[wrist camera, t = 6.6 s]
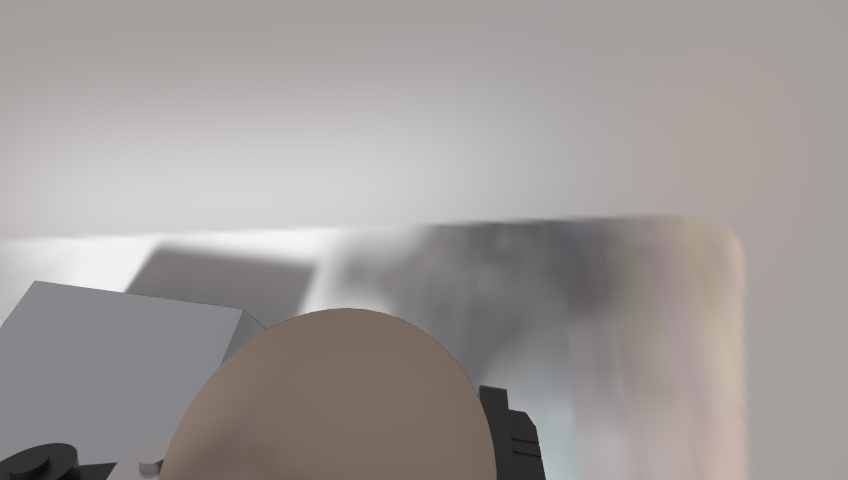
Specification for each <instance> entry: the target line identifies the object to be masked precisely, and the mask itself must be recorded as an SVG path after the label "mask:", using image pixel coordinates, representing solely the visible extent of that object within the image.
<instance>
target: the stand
mask: <svg viewBox="0 0 848 480" xmlns="http://www.w3.org/2000/svg"><path fill="white" fill-rule="evenodd" d="M264 331H266V329H265V328H264V327H263V326H262V325H261V324H259V323H258V322H257V321H256V320H255V319H254V318H253V317H252V316H250V315H249V314H248V313H247V312H246V311H245V310H244V309H238V308H230V307H223V306H216V305H208V304H201V303H194V302H187V301H179V300H172V299H165V298H157V297H150V296H143V295H136V294H128V293H121V292H114V291H106V290H99V289H92V288H84V287H77V286H70V285H63V284H55V283H48V282H41V281H34V282H33V284H32V285H31V287H30V288H29V289H28V291H27V292H26V293H25V295H24V296H23V298H22V299H21V300H20V302H19V303H18V304H17V306H16V307H15V309H14V310H13V311H12V313H11V314H10V315H9V317H8V318H7V320H6V321H5V322H4V324H3V325H2V326H1V328H0V462H1V461H2V460H4V459H6V458H8V457H10V456H12V455H14V454H16V453H19V452H21V451H23V450H26V449H29V448H32V447H35V446H39V445H44V444H49V443H66V444H69V445H72V446H73V447H75V448H76V450H77V454H78V461H79V465H90V464H103V463H115V462H118V461H119V460H120V459H121V458H122V457H123V456H124V455H125V454H126V453H127V452H129V451H130V450H132V449H133V448H135V447H136V446H138V445H140V444H142V443H144V442H147V441H149V440H152V439H156V438H160V437H166V436H173V435H174V433H175V431H176V429H177V427H178V425H179V423H180V421H181V419H182V417H183V415H184V413H185V412H186V410H187V409H188V407H189V406H190V404H191V402H192V401H193V399H194V398H195V396H196V395H197V393H198V392H199V391H200V389H201V388H202V387H203V385H204V384H205V383H206V382H207V380H208V379H209V378H210V376H211V375H212V374H213V373H214V372H215V371H216V370H217V369H218V368H219V367H220V366H221V365H222V364H223V363H224V362H225V361H226V360H227V359H228V358H229V357H230V356H231V355H233V354H234V353H235V352H236V351H237V350H238V349H239V348H241V347H242V346H243V345H245V344H246V343H248V342H249V341H250V340H252V339H253V338H255V337H256V336H257V335H259V334H261V333H263V332H264Z"/></svg>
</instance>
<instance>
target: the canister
mask: <svg viewBox="0 0 848 480" xmlns="http://www.w3.org/2000/svg"><path fill="white" fill-rule="evenodd" d="M158 480H497V472H496V463H495V454H494V446H493V442H492V438H491V433H490V429H489V425H488V421H487V419H486V416H485V413H484V410H483V408H482V405H481V402H480V400H479V398H478V396H477V394H476V392H475V390H474V388H473V386H472V384H471V382H470V381H469V379H468V378H467V376H466V375H465V373H464V372H463V370H462V369H461V367H460V366H459V364H458V363H457V362H456V361H455V360H454V359H453V358H452V356H451V355H450V354H449V353H448V352H447V351H446V350H445V349H444V348H443V347H442V346H441V345H440V344H439V343H437V342H436V341H435V340H434V339H433V338H432V337H430V336H429V335H427V334H426V333H424V332H423V331H421V330H420V329H418V328H417V327H415V326H413V325H411V324H409V323H407V322H405V321H403V320H401V319H399V318H396V317H393V316H390V315H387V314H384V313H380V312H375V311H371V310H365V309H352V308H342V309H328V310H322V311H316V312H311V313H307V314H304V315H301V316H297V317H294V318H292V319H289V320H287V321H284V322H282V323H280V324H277V325H275V326H273V327H272V328H270V329H268V330H266V331H264V332H263V333H261V334H259V335H257V336H256V337H255V338H253V339H252V340H250V341H249V342H248V343H246V344H245V345H243V346H242V347H241V348H239V349H238V350H237V351H236V352H235V353H234V354H233V355H231V356H230V357H229V358H228V359H227V360H226V361H225V362H224V363H223V364H222V365H221V366H220V367H219V368H218V369H217V370H216V371H215V372H214V373H213V374H212V375H211V376H210V378H209V379H208V380H207V382H206V383H205V384H204V385H203V387H202V388H201V389H200V391H199V392H198V393H197V395H196V396H195V398H194V399H193V401H192V402H191V404H190V406H189V407H188V409H187V410H186V412H185V413H184V415H183V417H182V419H181V421H180V423H179V425H178V427H177V429H176V431H175V433H174V435H173V437H172V440H171V442H170V445H169V447H168V450H167V453H166V455H165V458H164V461H163V464H162V468H161V471H160V475H159V479H158Z"/></svg>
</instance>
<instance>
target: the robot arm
mask: <svg viewBox="0 0 848 480" xmlns="http://www.w3.org/2000/svg"><path fill="white" fill-rule="evenodd" d="M478 398H479V400H480V402H481V405H482V408H483V410H484V413H485V416H486V419H487V421H488V425H489V429H490V433H491V438H492V442H493V446H494V454H495V463H496V472H497V480H546V478H545V473H544V468H543V462H542V459H541V452H540V446H539V441H538V436H537V430H536V426H535V425H534V424H533V422H532V421H531V419H530V418H529V417H528V415H527V414H526V413H525V412H521V411H515V410H509V409H508V398H507V390H506V389H501V388H495V387H488V386H482V385H479V390H478ZM172 437H173V436H166V437H160V438H156V439H152V440H149V441H147V442H144V443H142V444H140V445H138V446H136V447H135V448H133V449H132V450H130V451H129V452H127V453H126V454H125V455H124V456H123V457H122V458H121V459H120V460H119V461H118V462H115V463H103V464H90V465H79V461H78V454H77V450H76V448H75V447H73V446H72V445H69V444H66V443H49V444H44V445H39V446H35V447H32V448H29V449H26V450H23V451H21V452H19V453H16V454H14V455H12V456H10V457H8V458H6V459H4V460H2V461H1V462H0V480H158V479H159V475H160V471H161V468H162V464H163V461H164V458H165V455H166V453H167V450H168V447H169V445H170V442H171V440H172Z"/></svg>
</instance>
